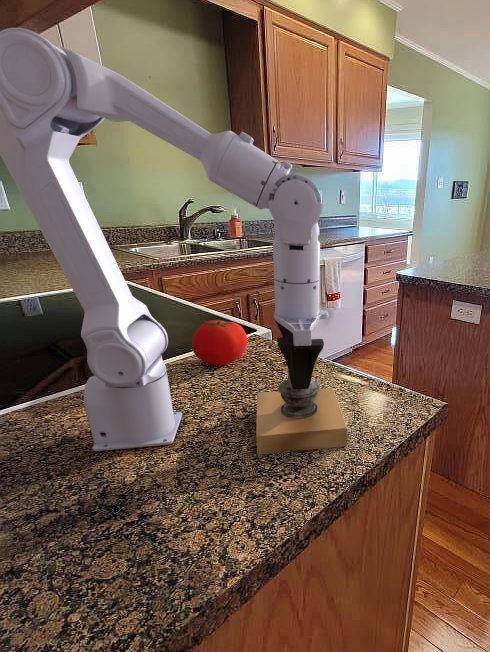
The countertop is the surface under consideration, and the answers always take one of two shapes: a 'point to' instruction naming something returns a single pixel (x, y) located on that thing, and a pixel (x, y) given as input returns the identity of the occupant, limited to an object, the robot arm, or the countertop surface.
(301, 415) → the grey chess piece
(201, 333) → the tomato
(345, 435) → the block
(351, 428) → the countertop surface
